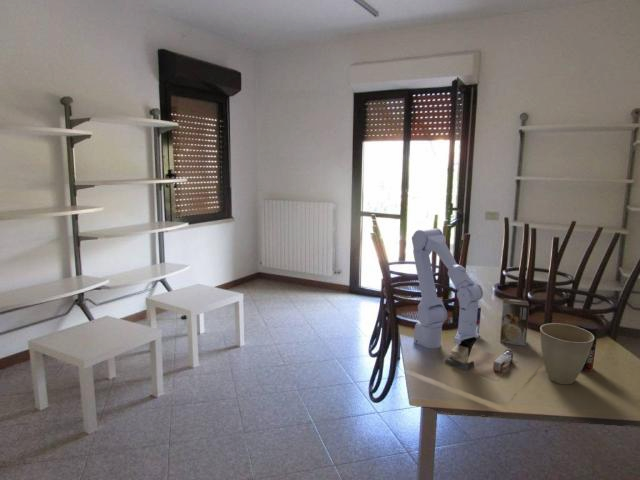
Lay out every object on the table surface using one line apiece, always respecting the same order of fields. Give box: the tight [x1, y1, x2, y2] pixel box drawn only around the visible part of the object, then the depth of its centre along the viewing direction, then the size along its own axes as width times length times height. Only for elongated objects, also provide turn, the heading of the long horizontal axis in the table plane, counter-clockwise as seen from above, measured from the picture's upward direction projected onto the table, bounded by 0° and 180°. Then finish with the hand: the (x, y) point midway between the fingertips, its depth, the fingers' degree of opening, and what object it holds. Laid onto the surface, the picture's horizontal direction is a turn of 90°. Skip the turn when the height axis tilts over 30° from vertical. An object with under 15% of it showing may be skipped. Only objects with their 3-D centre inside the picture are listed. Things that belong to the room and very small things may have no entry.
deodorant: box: [576, 321, 599, 372], centre depth 147 cm, size 6×6×15 cm
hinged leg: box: [493, 349, 514, 372], centre depth 146 cm, size 11×3×3 cm, turn 137°
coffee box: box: [499, 297, 530, 347], centre depth 167 cm, size 9×6×16 cm
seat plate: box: [441, 347, 518, 382], centre depth 149 cm, size 19×18×4 cm
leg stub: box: [450, 344, 469, 364], centre depth 147 cm, size 4×4×5 cm
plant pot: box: [539, 322, 594, 385], centre depth 139 cm, size 15×15×16 cm
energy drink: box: [476, 304, 482, 335], centre depth 174 cm, size 5×5×12 cm
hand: (464, 357), depth 150 cm, fingers closed
